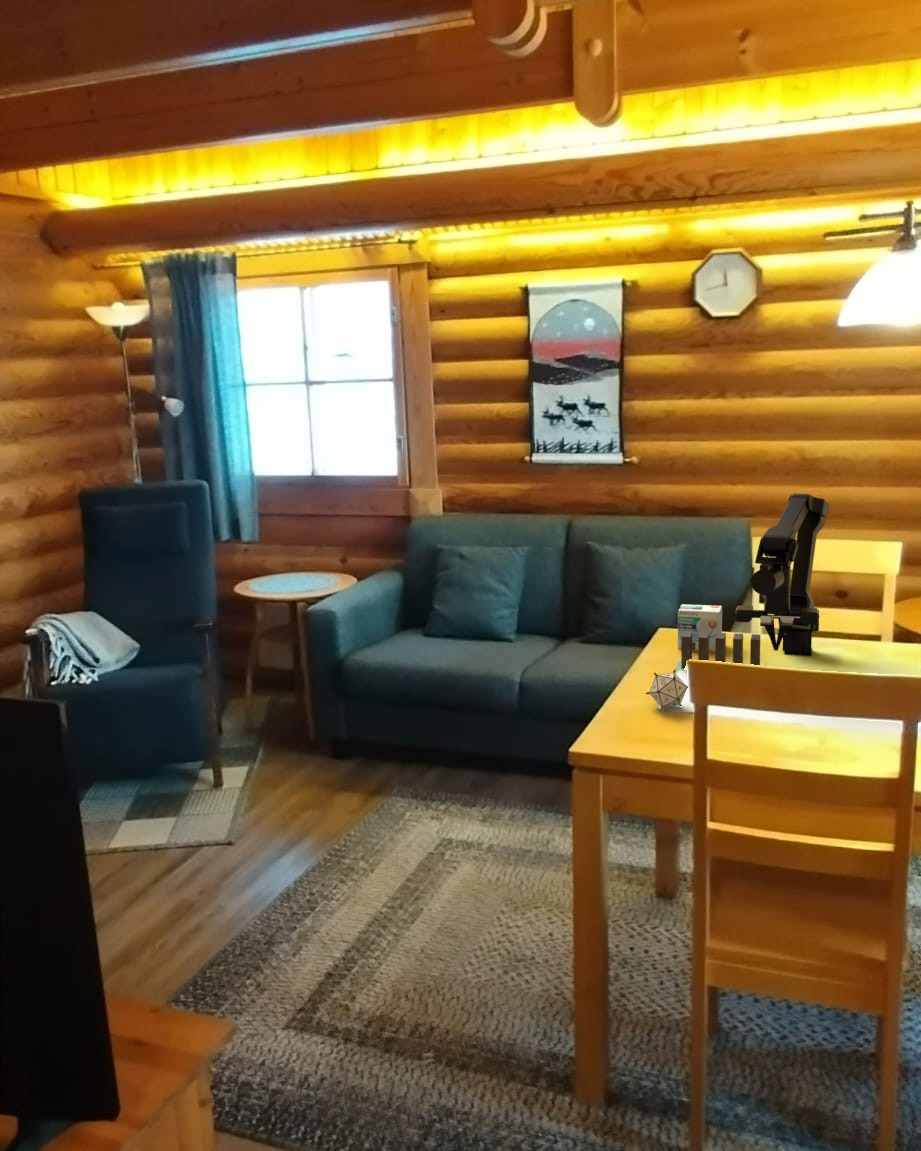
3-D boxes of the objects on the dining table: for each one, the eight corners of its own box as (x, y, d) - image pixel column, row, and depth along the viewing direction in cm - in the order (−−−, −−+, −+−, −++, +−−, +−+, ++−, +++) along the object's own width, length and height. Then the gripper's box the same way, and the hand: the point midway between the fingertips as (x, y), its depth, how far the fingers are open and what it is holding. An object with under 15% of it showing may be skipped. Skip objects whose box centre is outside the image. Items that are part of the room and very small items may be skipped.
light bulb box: (677, 650, 263) (677, 609, 260) (680, 643, 269) (680, 603, 267) (719, 652, 259) (720, 611, 257) (722, 645, 265) (722, 605, 263)
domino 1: (692, 662, 250) (692, 631, 249) (689, 669, 246) (689, 637, 244) (683, 662, 251) (684, 631, 249) (681, 668, 247) (681, 636, 245)
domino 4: (742, 665, 247) (743, 633, 245) (741, 671, 242) (741, 639, 240) (734, 665, 247) (734, 633, 246) (732, 671, 243) (733, 638, 241)
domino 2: (708, 663, 249) (709, 632, 248) (706, 669, 245) (707, 637, 243) (700, 663, 250) (700, 631, 248) (698, 669, 245) (698, 637, 244)
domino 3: (725, 664, 248) (725, 632, 246) (723, 670, 243) (724, 638, 242) (717, 664, 249) (717, 632, 247) (715, 670, 244) (715, 638, 242)
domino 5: (759, 666, 245) (760, 634, 244) (758, 672, 241) (759, 640, 239) (751, 666, 246) (751, 634, 244) (750, 672, 241) (750, 639, 240)
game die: (675, 725, 220) (690, 699, 213) (638, 711, 221) (652, 684, 214) (683, 695, 226) (698, 668, 219) (646, 681, 227) (660, 654, 220)
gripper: (819, 579, 242) (817, 642, 245) (738, 577, 248) (737, 639, 251) (819, 590, 232) (817, 656, 235) (735, 587, 238) (734, 651, 241)
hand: (776, 650), depth 241 cm, fingers closed
